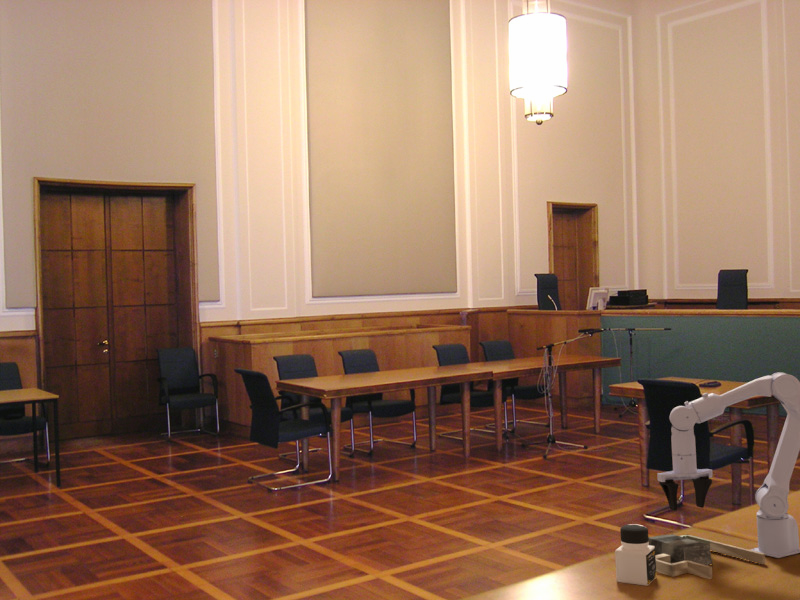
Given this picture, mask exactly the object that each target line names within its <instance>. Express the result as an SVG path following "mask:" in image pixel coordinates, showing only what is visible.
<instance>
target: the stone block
mask: <svg viewBox="0 0 800 600" xmlns="http://www.w3.org/2000/svg"><path fill="white" fill-rule="evenodd" d="M681 536H682V535H678V534H674V533H672V534H671V533H670V534H662V535H656V536H648V538H649V545H650V546H655V555H659V554H668V555H670V559H671V564H672V563H676V562H681V561H685V560H689V561H692V562H696V563H700V564H703V565H707V566H708V565H710V564H713V565H714V562H713V559H712V552H710V545H709V544H705V543H701V542H698V541H694V540H690V539H687V538H686V537H685V536H683V537H681Z"/></svg>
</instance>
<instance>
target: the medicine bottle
mask: <svg viewBox="0 0 800 600" xmlns="http://www.w3.org/2000/svg"><path fill="white" fill-rule="evenodd" d="M619 532H620V533H619V534H620V544H621V545H620V546H619V547H618V548H616V549H615V551H614V555H615V556H614V559H615V575H616V576H615V578H616V580H615V581H616V582H617V583H621V584H623V583H624V584H628V585H629V584H630V585H638V586H645V587H647V586H649V585H650V584H651V583H652V582H654V580H655V579H656V578H657V572H656V557H655V546H650V545H649V538H648V537H649V529H648V528H647V527H646V526H644V525H641V524H637V523H635V524H634V523H632V524H631V523H630V524H628V523H627V524H625V525H622V526H621V527H620V530H619Z"/></svg>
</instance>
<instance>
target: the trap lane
mask: <svg viewBox="0 0 800 600" xmlns="http://www.w3.org/2000/svg"><path fill="white" fill-rule="evenodd" d="M680 536H681V537H683V536H685V537H686V538H687V539H690V540H694V541H698V542H701V543H705V544H709V545H710V550H712V551H716V552H719V553H723V554H726V555H730V556H734V557H738V558H742V559H746V560H749V561H753V562H757V563H760V564H765V565H766V555H765V554H764V553H760V552H756V551H752V550H751V549H749V548H748V549H747V548H743V547H740V546H739V547H738V546H736V545H731V544H729V543H723V542H719V541H715V540H711V539H707V538H704V537H699V536H694V535H690V534H684V535H683V534H682V535H680ZM726 555H725V556H726ZM655 557H656V573H659V574H663V575H665V576H670V577H676V576H680V575H685V574H687V573H688V574H691V575H694V576H697V575H698V576H697V577H701V578H704V579H708V580H711V579H713V567H712V566H708V565H703V564H700V563H696V562H692V561H689V560H685V561H681V562H676V563H672V564H671V559H670V555H668V554H659V555H655ZM749 561H748V562H749ZM760 564H759V565H760Z"/></svg>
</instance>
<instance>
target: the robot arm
mask: <svg viewBox="0 0 800 600" xmlns="http://www.w3.org/2000/svg"><path fill="white" fill-rule="evenodd" d="M757 396H759V397H760V396H762V397H769V398H770V397H772V396H773V397H774V398H775V399H777V400H778V401H779V402H780V404H781V406H782V407H783V408H784V410H785V412H786V414H787V415H786V419H785V421H784V425H783V428H782V431H781V433H780V437H779V440H778V443H777V446H776V449H775V453H774V454H773V459H772V461H771V465H770V468H769V472H768V473H767V475H766V477H764V480H763V483H762V484H761V486H760V487H759V488H758V489H757V490H756V491H755V495H754V498H755V502H756V504H757V506H759V509H758V511H757V512H756V514H755V515H756V532H757V534H756V535H757V547H754V548H751V549H750V550H752V551H756V552H760V553H764V554H765V556H768V557H772V558H776V559H781V558H785V557H788V556H793V555H797V554H799V553H800V539H799V525H798V522H797V520H796V519H795V518H794V517H793V515H792V514H788V511H789V506H790V505H789V501H788V497H789V493H790V481H791V478H792V475H793V472H794V468H795V465H796V462H797V459H798V457H799V454H800V381H799V379H798V378H797V377H796V376H794V375H792V374H788V373H785V372H783V371H782V372H781V371H779V372H774V373H773V374H771V375H769V374H768V375H764V376H762V377H759V378H755V379H753V380H750V381H749V382H746V383H744V384H742V385H740V386H737V387H735V388H732V389H731V390H728V391H726V392H724V393H721V394H717V393H714V392H711V393H708V392H704V393H702V395H701V397H699V398H697V399H694V400H691V401H688V400H686V401H685V402H684V405H678V406H676V407H673V408H672V410H671V411H670V414H669V417H668V419H669V421H670V423H671V428H670V429H671V430H670V431H671V436H670V437H671V457H672V470H670V471H664V472H657V475H656V476H657V481H658V483H659V485H660V487H661V489H662V491H663V492H664V495H665V497H666V500H667V502H668V507H669V510H672V511H678V490H679V484H678V483H676V481H683V480H684V481H685V480H692V483H693V488H694V492H695V493H694V496H695V504H696V505H695V506H696V507H699V508H701V509H703V508H704V507H705V501H706V499H707V498H706V497H707V495H708V492H709V490H710V487H711V485H712V484H713V479H711V478H713V469H709V468H702V469H701V468H700V469H699V468H697V467H698V466H697V464H698V463H697V452H696V451H697V449H696V435H695V432H694V431H695V430H694V429H695V427H694V426H695V424H701V423H704V422H706V421H707V422H708V421H709V420H711V419H714V418H716V417H719V416H721V415H723V414H724V413H725V409H726V408H727V407H729V406H731V405H734V404H737V403H740V402H742V401H745V400H749V399H751V398H753V397H757Z"/></svg>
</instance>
